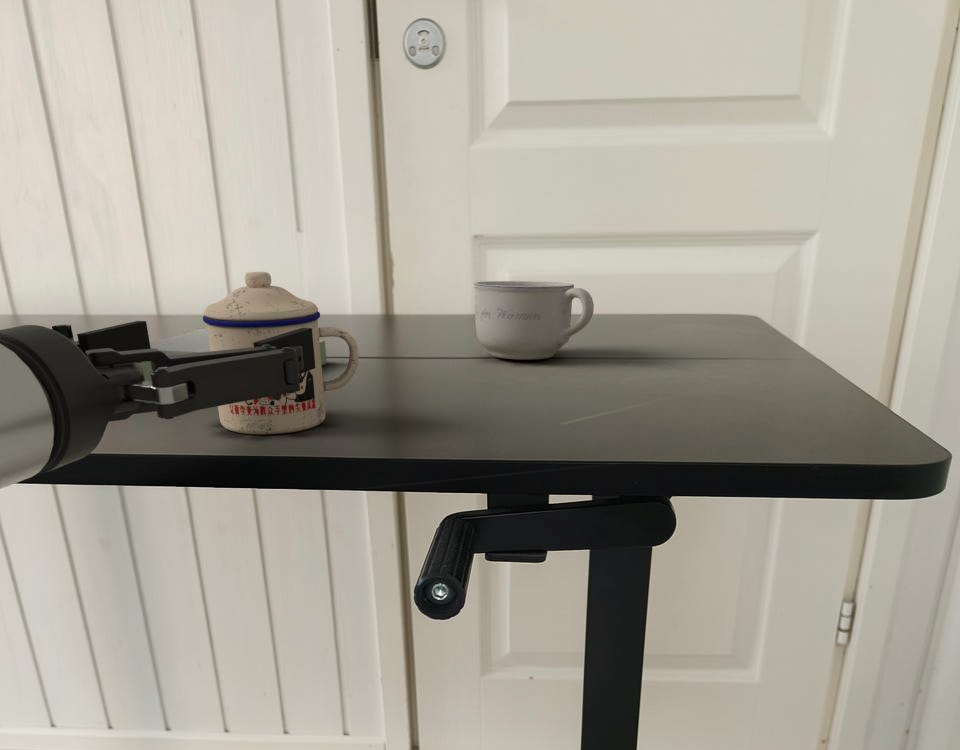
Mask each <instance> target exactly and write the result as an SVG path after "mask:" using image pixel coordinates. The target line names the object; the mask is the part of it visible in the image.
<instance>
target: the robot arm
mask: <svg viewBox="0 0 960 750" xmlns="http://www.w3.org/2000/svg"><path fill="white" fill-rule="evenodd" d="M76 336H77V337H76V338H77V340H75V339H74V333H73V329H72V325H71V324H56V325H52V326H51V328H49V327H46V326H42V325H36V324H24V325H23V324H22V325H18V326H13V327H7V328H3V329H0V490H1V489H4V488H8V487H10V486H12V485H15V484H17V483H20V482H22V481H25V480H27V479H30V478H32V477H34V476H37V475H42V474H47V473H49V472H51V471H53V470H57V469H59V468H61V467H64V466H66V465H68V464H72V463H74V462H77V461H79V460H81V459H84V458H85V457H86V458H87V456H89V455H90V454H91V453H92V452H94V450H96V448H97V447H98V446H99V444H100V443H101V441H102V439H103V436H104V434H105V432H106V429H107V426H108V425H109V422H116V421H124V420H129V419H130V417H132V415H137V414H138V415H139V414H145V413H146V414H147V413H152V412H153V413H154V412H156V416H157V417H158V418H160V419H165V420H173V419H174V418H177V417H180V416H184V415H186V414H189V413H193V412H196V411H199V410H206V409H212V408H217V407H218V406H222V405H227V404H232V403H238V402H243V401H248V400H253V399H259V398H264V397H270V398H272V399H275V400H279V399H281V394H285V393H295V392H296V391H299V390H300V382H299V374H302V373H304V372H307V371H309V370H312V369H315V368H316V367H315V356H314V345H313V334H312V328H300V329H297V330H293V331H290V332H287V333H283V334H280V335H277V336H273V337H270V338H267V339H264V340H260V341H257V342H254V343H253V344H254V347H251V348H241V349H231V350H221V351H211V352H201V353H191V354H180V355H170V356H167V355H166V354H165V353H163V352H161V351H160V350H158V349H154V348H152V349H151V347H150V343H151V341H150V335H149V330H148V323H147V321H146V320H135V321H134V320H133V321H130V322H125V323H120V324H117V325H113V326H108V327H103V328H99V329H94V330H90V331H85V332H80V333H77V334H76ZM145 361H150V362H151V367H152V372H150V375H151V381H145V379H144V373H143V369H142V367H141V366H140V364H139V363H140V362H145Z"/></svg>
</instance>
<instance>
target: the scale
mask: <svg viewBox="0 0 960 750" xmlns="http://www.w3.org/2000/svg"><path fill="white" fill-rule="evenodd" d="M319 342H320V354H321V366H323V365H326V364H327V363H328V360H327V348H326V341H325V340H322V339H319ZM150 347H151V349H152V348H154V349H158V350H160V351H161V352H163V353H165V354H166V355H167V356H170V355H180V354H191V353H201V352H210V344H209V337H208V330H207V328H200V329H197V330H193V331H189V332H186V333H182V334H178V335H175V336H171V337H170V336H169V337H166V338H162V339H159V340H155V341H150ZM139 364H140V366H141V367H142V369H143V373H144V379H145V381H151V375H150V372H152V367H151V362H150V361H145V362H140V363H139Z"/></svg>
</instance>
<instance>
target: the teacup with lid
mask: <svg viewBox="0 0 960 750" xmlns="http://www.w3.org/2000/svg"><path fill="white" fill-rule="evenodd" d="M244 283H245V285H246V286H242V287H241V286H240V287H238V288H235V289H234V290H233V291H231V292H230V293H229V294H227V296H226V297H224V298H223V299H220V300H219V301H217V302H215V303H212V304H208V306H206V307H205V308H204V311H203V316H202V321H203V322H204V323H205V324H206V329H207V330H208V337H209V344H210V352H211V351H221V350H231V349H241V348H251V347H254V344H253V343H254V342H257V341H260V340H264V339H267V338H270V337H273V336H277V335H280V334H283V333H287V332H290V331H293V330H297V329H300V328H312V334H313V345H314V356H315V367H316V368H315V369H312V370H309V371H307V372H304V373H302V374H299V382H300V390H299V391H296V392H295V393H285V394H281V399H279V400H275V399H272V398H270V397H264V398H259V399H253V400H248V401H243V402H238V403H232V404H227V405H222V406H217V409H218V417H219V423H220V425H221V426H222V428H225V429H226V430H229V431H232V432H234V433H238V434H245V435H247V434H248V435H280V434H290V433H296V432H301V431H306V430H309V429H312V428H314V427H317V426H319V425H320V424H322V423H323V422H324V421H325V419H326V415H327V414H326V404H325V403H326V401H325V392H331V391H334V390H338V389H341V388H343V387H344V386H346V385H347V384H348V383H349V382H350V381H351V380H352V378H353V377H354V375H355V373H356V371H357V368H358V364H359V358H360V356H359V355H360V353H359V347H358V343H357V341H356V340H355V338H354V337H353V336H352V335H351V334H350V333H349V332H348V331H347V330H345V329H343V328H340V327H336V326H324V327H319V319H320V318H321V312H320V311H319V308H318V306H317V305H316V303H315V302H313V301H310V300H306V299H303V298H300V297H298V296H296V295H294V294H293V293H292V292H290V291H289V290H287V289H285V288H284V287H281V286H277V285H271V284H272V276H271V274H270V273H269V272H268V271H250V272H249V271H248V272H246V273H245V275H244ZM329 337H333V338H335V337H336V338H340V339H342V340H343V341H345V342H346V344H347V346H348V349H349V350H348V351H349V356H348V357H349V358H348V362H347V365H346V367H345V370H344V371H343V372H342V373H341V375H339V376H338V377H337V378H334V379H331V380H326V381H325V380H323V379H324V378H323V367H322V366H323V365H321V354H320V342H319V340H320V338H329Z"/></svg>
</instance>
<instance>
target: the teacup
mask: <svg viewBox="0 0 960 750" xmlns="http://www.w3.org/2000/svg"><path fill="white" fill-rule="evenodd" d="M473 286H474V291H475V293H474V318H475V319H474V322H475V333H476V337H477V339H478V342H479V343H480V344H481V345H482V347H484V349H486V350H487V351H488V352H489V354H490V355H491V356H492V357H495V358H499V359H506V360H508V359H509V360H522V361H523V360H526V361H527V360H544V359H549V358H552V357H554V355H555V353H556V352H557V351H559V350H560V349H561V348H563V347H564V345H566V344H567V343H568V342H569V340H570V338H571V337H572V336H574V335H576V334H578V333H579V332H580V331H582V330H583V329H584V328H585V327H587V325H588V324H589V323H590V322H591V320H592V318H593V316H594V311H595V310H594V309H595V306H594V300H593V297H592V295H591V294H590V292H589V291H587V290H586V289H584V288H582V287H575V284H574V283H570V282H562V281H561V282H559V281H538V280H537V281H532V280H488V281H487V280H485V281H476V282H474V285H473ZM575 298H576V299H578V300H579V301H580V303H581V305H582V311H581V314H580V316H579V318H578V319H577V320H576V321H575V322H574V323H572V322H571V320H572V310H573V309H572V308H573V300H574V299H575ZM571 323H572V324H571Z"/></svg>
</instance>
